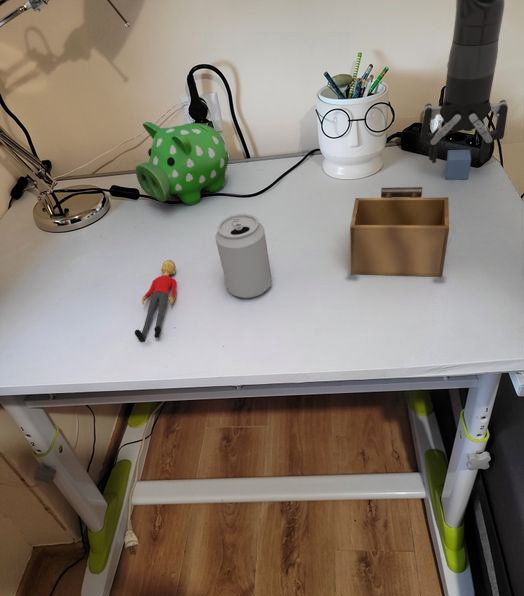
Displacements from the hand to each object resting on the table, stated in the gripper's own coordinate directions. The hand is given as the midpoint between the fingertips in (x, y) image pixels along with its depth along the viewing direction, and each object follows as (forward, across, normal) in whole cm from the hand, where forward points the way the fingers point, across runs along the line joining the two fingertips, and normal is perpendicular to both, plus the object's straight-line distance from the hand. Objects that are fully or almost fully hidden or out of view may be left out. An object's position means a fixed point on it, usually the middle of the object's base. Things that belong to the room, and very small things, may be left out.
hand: (457, 160), depth 97 cm
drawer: (-2, -10, -32) cm, 34 cm away
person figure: (+3, -47, -41) cm, 62 cm away
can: (+3, -33, -36) cm, 49 cm away
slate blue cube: (+3, 0, 0) cm, 3 cm away
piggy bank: (+3, -53, -6) cm, 53 cm away
